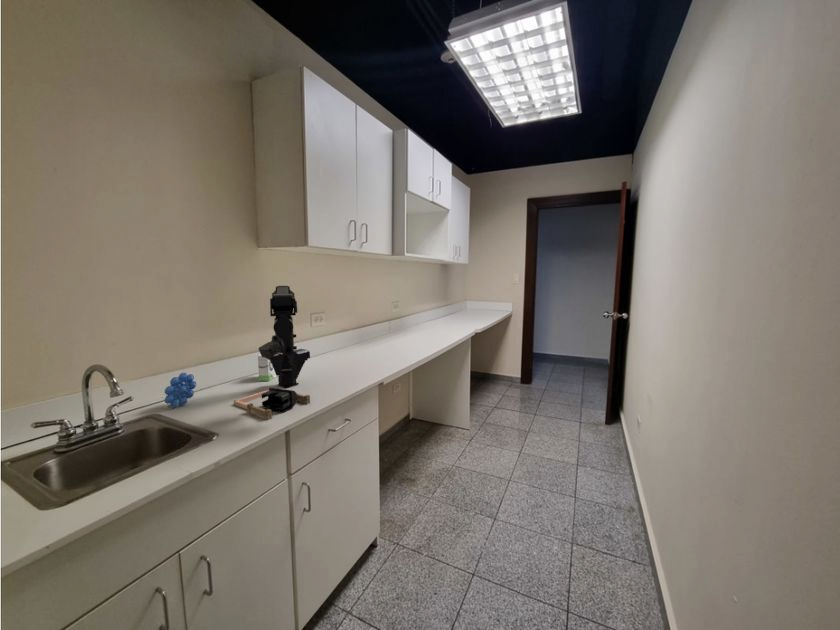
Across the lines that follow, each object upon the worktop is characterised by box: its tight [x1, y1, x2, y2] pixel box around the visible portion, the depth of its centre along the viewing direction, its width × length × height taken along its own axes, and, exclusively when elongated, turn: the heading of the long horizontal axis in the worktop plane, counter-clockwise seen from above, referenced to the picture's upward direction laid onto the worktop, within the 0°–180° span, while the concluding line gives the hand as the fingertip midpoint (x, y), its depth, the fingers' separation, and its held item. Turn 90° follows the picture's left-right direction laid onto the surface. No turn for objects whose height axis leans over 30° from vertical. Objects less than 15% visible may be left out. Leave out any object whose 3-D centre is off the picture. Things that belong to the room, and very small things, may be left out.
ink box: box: [257, 353, 278, 382], centre depth 158 cm, size 9×5×12 cm, turn 172°
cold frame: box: [246, 393, 311, 421], centre depth 124 cm, size 17×11×3 cm, turn 148°
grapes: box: [164, 372, 197, 409], centre depth 126 cm, size 12×7×12 cm, turn 161°
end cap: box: [261, 387, 298, 414], centre depth 123 cm, size 10×7×7 cm
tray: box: [233, 389, 269, 410], centre depth 129 cm, size 14×12×2 cm
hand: (286, 377), depth 117 cm, fingers open, 9 cm apart
